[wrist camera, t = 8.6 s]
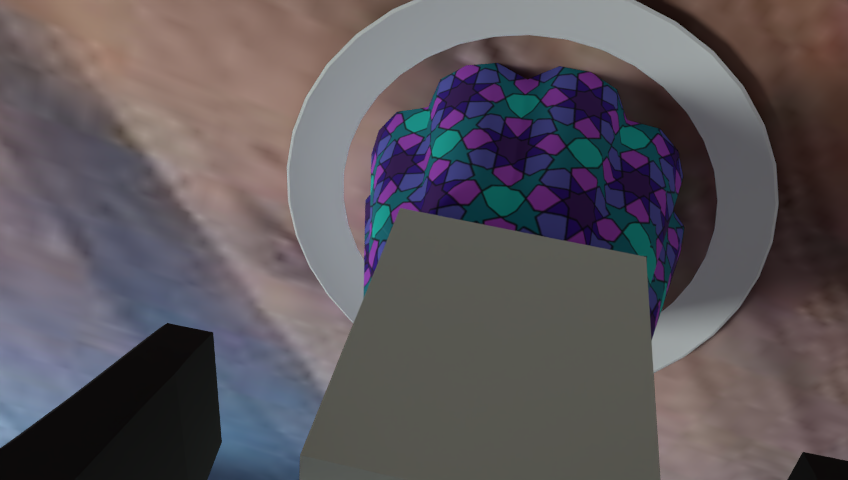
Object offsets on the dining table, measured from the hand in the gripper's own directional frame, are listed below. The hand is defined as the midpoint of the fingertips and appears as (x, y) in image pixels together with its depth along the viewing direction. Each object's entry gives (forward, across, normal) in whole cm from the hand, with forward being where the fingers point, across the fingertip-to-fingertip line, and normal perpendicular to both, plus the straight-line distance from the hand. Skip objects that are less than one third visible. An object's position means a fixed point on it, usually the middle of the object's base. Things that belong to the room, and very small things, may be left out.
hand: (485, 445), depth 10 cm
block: (+6, 0, +3) cm, 6 cm away
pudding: (+11, 0, +3) cm, 11 cm away
